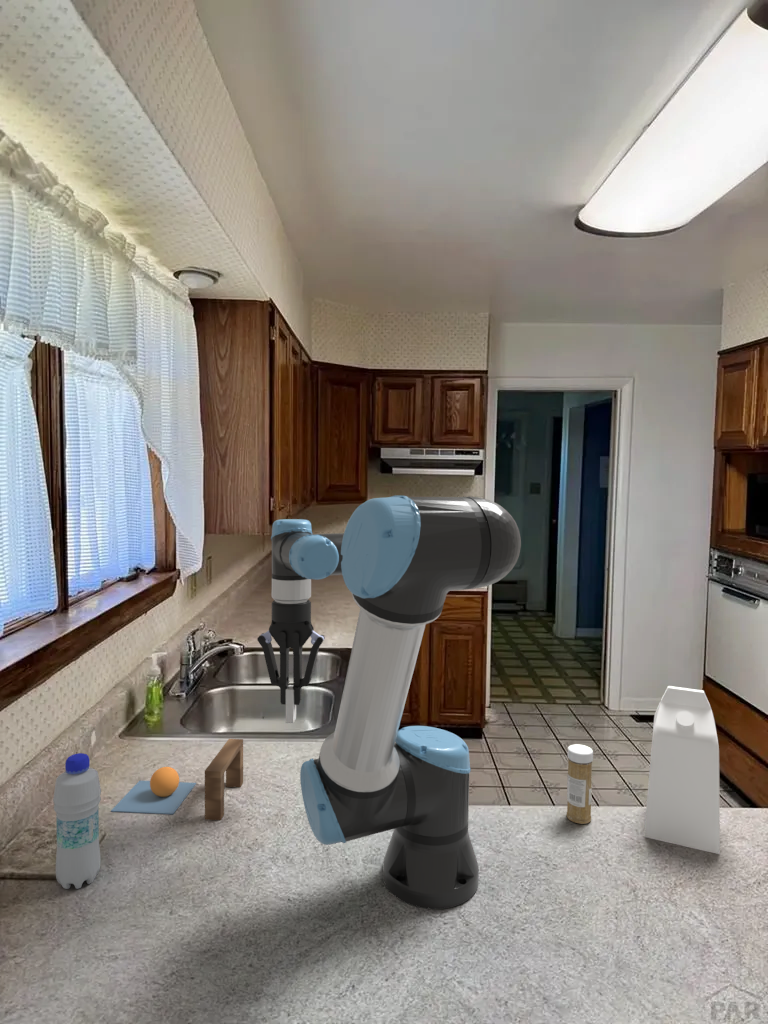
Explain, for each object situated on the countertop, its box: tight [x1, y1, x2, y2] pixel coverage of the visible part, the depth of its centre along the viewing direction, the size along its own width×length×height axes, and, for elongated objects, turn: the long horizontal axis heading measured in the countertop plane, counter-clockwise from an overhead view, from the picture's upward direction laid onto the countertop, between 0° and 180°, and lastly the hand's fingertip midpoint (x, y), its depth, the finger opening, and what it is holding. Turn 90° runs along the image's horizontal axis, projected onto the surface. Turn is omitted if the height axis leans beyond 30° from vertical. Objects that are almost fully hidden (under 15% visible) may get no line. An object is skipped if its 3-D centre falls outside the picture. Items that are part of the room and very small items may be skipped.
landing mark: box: [110, 779, 197, 815], centre depth 124 cm, size 12×12×1 cm
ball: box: [149, 766, 180, 797], centre depth 125 cm, size 6×6×6 cm
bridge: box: [204, 738, 244, 821], centre depth 123 cm, size 3×14×9 cm, turn 176°
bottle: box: [52, 752, 102, 890], centre depth 98 cm, size 7×7×20 cm
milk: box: [643, 685, 721, 855], centre depth 114 cm, size 12×12×26 cm
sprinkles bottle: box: [566, 743, 594, 825], centre depth 118 cm, size 5×5×13 cm
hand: (290, 720), depth 121 cm, fingers closed
